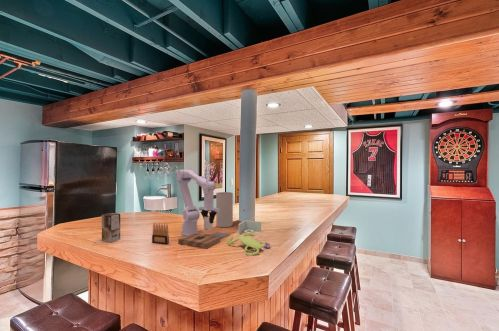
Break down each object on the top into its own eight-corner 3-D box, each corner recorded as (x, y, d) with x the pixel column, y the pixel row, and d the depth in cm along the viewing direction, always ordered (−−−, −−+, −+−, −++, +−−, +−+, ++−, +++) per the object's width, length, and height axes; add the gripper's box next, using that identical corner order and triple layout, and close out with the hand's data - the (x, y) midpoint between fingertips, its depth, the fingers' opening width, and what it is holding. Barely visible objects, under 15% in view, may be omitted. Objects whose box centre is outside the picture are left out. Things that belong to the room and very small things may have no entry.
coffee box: (120, 239, 151) (120, 213, 151) (111, 242, 145) (111, 215, 145) (111, 237, 155) (111, 212, 155) (101, 240, 149) (101, 214, 149)
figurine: (249, 238, 155) (249, 229, 155) (277, 250, 133) (277, 240, 133) (223, 243, 144) (223, 234, 144) (249, 257, 122) (249, 246, 122)
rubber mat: (208, 236, 157) (208, 235, 157) (217, 232, 166) (217, 231, 166) (221, 238, 153) (221, 237, 153) (229, 234, 162) (229, 233, 162)
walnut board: (178, 243, 143) (178, 238, 143) (193, 237, 155) (193, 232, 155) (206, 249, 134) (206, 243, 134) (220, 241, 146) (220, 236, 146)
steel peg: (203, 229, 150) (203, 216, 150) (207, 228, 154) (207, 215, 154) (209, 230, 148) (209, 217, 148) (212, 229, 152) (213, 216, 152)
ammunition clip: (169, 243, 143) (169, 223, 143) (167, 244, 141) (167, 224, 141) (153, 242, 146) (153, 222, 146) (151, 243, 144) (151, 222, 144)
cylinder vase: (214, 227, 181) (214, 193, 181) (219, 223, 193) (219, 192, 193) (230, 228, 179) (230, 194, 179) (234, 224, 191) (234, 192, 191)
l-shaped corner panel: (238, 235, 163) (238, 224, 163) (245, 230, 174) (245, 220, 174) (255, 237, 158) (255, 225, 158) (261, 232, 169) (261, 221, 169)
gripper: (195, 200, 151) (195, 222, 151) (214, 202, 144) (214, 225, 144) (202, 199, 157) (202, 220, 157) (221, 201, 151) (221, 222, 151)
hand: (208, 222), depth 151 cm, fingers closed on steel peg, 4 cm apart
